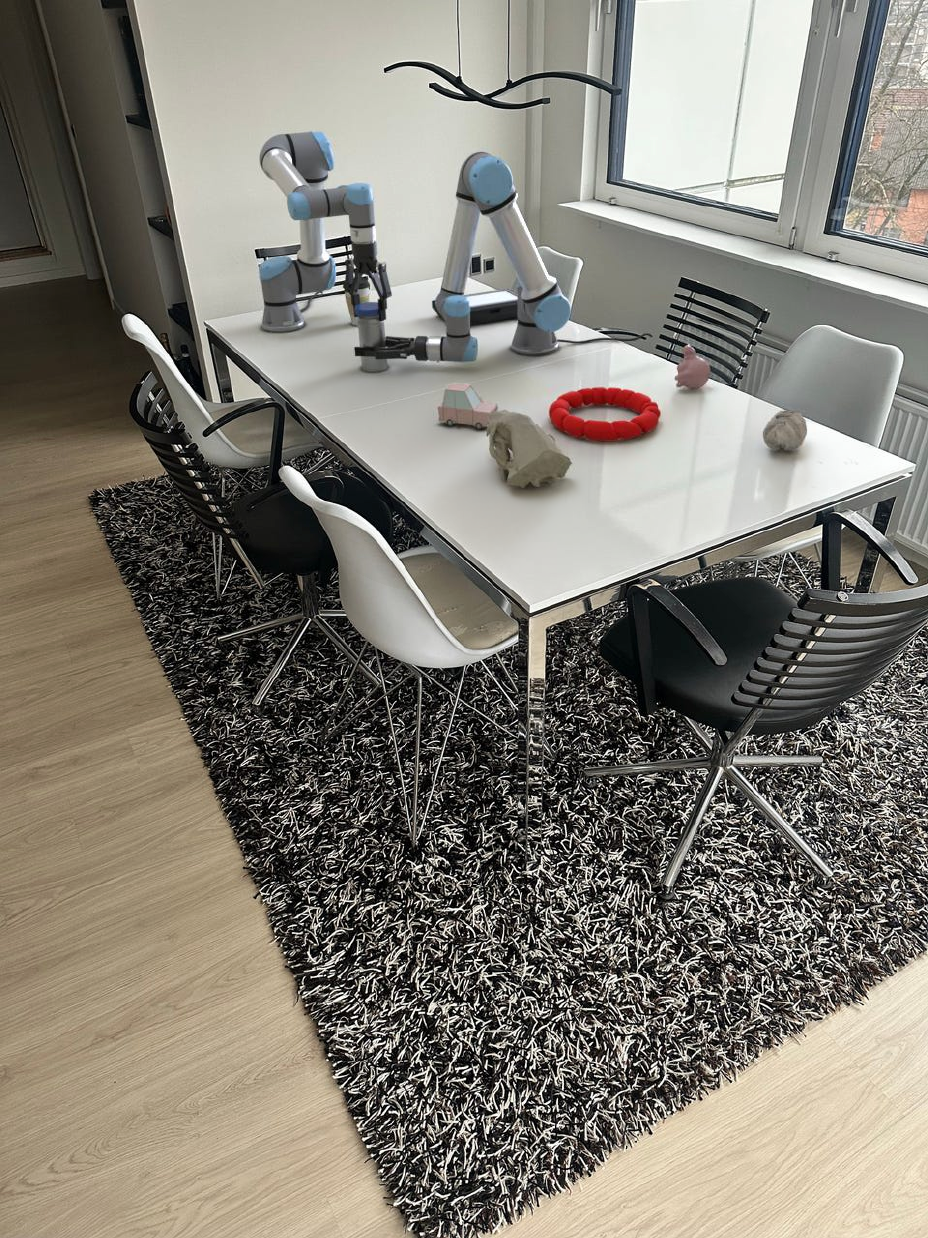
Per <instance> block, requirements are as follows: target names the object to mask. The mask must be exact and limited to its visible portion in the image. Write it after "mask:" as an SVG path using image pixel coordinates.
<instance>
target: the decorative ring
mask: <svg viewBox="0 0 928 1238" xmlns="http://www.w3.org/2000/svg"><path fill="white" fill-rule="evenodd" d="M583 405H584V406H586V407H587V406H591V405H593V406H604V405H608V406H614V407H619V408H624V409H628V410H632V411H635V412H636V413H638V414H639V415H637V416H635V417H632V418H631V419H630V420H625V419H624V420H623V419H622V420H614V421H611V422H609V421H607V420H606V421H605V420H593V419H587V420H586V421H585V419H584V418H582V417H579V416H577V415H573V414H571V413H570V410H571V409H579V408H581V407H582V406H583ZM548 416H549V419H550V422H551V423H552V425H553V426H554V427H555V428H556V429H558V430H559V431H561V432H563V433H567V434H568V435H569V436H573V437H576V438H580V439H582V438H583V437H585V438H586V439H587V440H591V441H601V442H602V441H603V442H608V441H609V442H610V441H611V442H612V441H615V442H616V441H618V440H630V439H634V438H638V437H641V436H642V434H647V433H650V432H651V431H653V430H654V429H655V428H656V427H657V426H658V424H659V422H660V421H659V420H660V417H661V410H660V408H659V405H658V403H657V402H656V401H652V399H651V397H649V396H648V395H646V394H644V393H642V392H635V391H634V390H632V389H628V388H624V389H622V388H620V387H613V386H612V387H611V386H610V387H608V388H606V387H604V386H594V387H585V388H584V387H583V388H580V389H578V390H571V391H568V392H565V393H563V394H561V395H560V396H558V397H557V398H556V400H554V401H552V403H551V404H550V407H549V409H548Z"/></svg>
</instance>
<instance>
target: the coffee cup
mask: <svg viewBox="0 0 928 1238" xmlns="http://www.w3.org/2000/svg"><path fill="white" fill-rule="evenodd" d="M353 279H354V277H353ZM370 287H371V283H370V282H369V279H367V278H365V277H362V278H361V281H360V285H359V288H358V293H356V294H359V295H360V303H365V302H370ZM342 288H343V290H344V289H345V280H344V281H343V285H342ZM344 297H345V301H346V305H347V310H348V314H349V318H350V323H351V325H353V326H357V327H358V321H359V319H358V317H354V310H353V305H352V304H351V296H350V294H349V293H348V292H345V291H344Z"/></svg>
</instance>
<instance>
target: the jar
mask: <svg viewBox="0 0 928 1238" xmlns="http://www.w3.org/2000/svg"><path fill="white" fill-rule="evenodd" d="M358 319H359V321H358V326H357V330H358V332H357V333H358V342H359V343H358V344H359V347H374V346H376V348H386V341H385V338H386V330H385V329H386V328H385V320H384V321H379V315H377V316H358ZM360 361H361V370H362V371H364V372H367V373H378V372H379V373H380V372H383V371H386V370H387V369H388V359H378V360H377V359H375V357H369V356H360Z"/></svg>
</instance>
